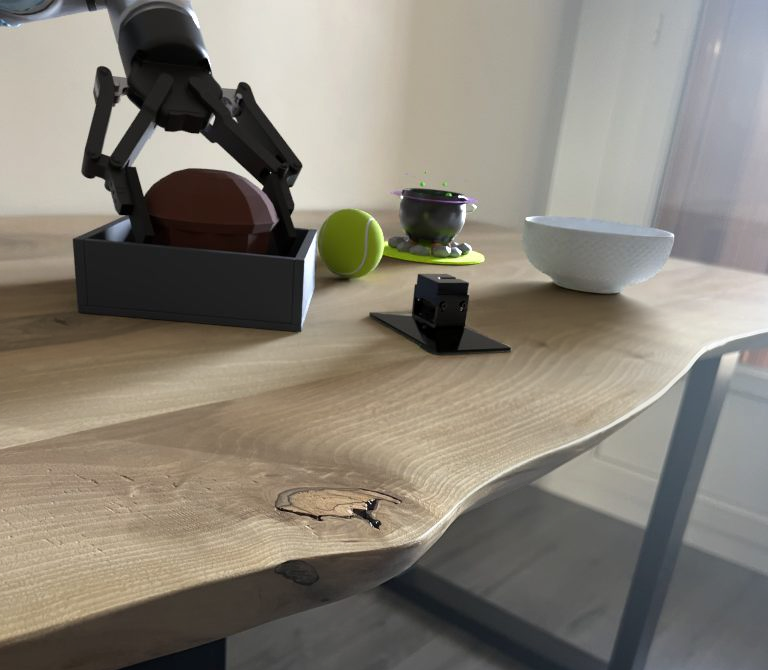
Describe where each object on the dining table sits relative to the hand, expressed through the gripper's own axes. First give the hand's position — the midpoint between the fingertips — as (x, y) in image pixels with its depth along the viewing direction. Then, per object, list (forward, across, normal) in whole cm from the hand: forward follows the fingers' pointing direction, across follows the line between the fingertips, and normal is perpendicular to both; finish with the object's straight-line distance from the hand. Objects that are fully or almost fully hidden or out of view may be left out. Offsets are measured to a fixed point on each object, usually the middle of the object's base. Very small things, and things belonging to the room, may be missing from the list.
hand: (221, 246), depth 68 cm
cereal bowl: (+1, -47, -6) cm, 47 cm away
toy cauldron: (-14, -38, -21) cm, 46 cm away
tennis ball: (-4, -18, -11) cm, 22 cm away
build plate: (+12, -15, +5) cm, 20 cm away
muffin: (+1, 0, -5) cm, 5 cm away
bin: (+2, 0, -5) cm, 6 cm away
